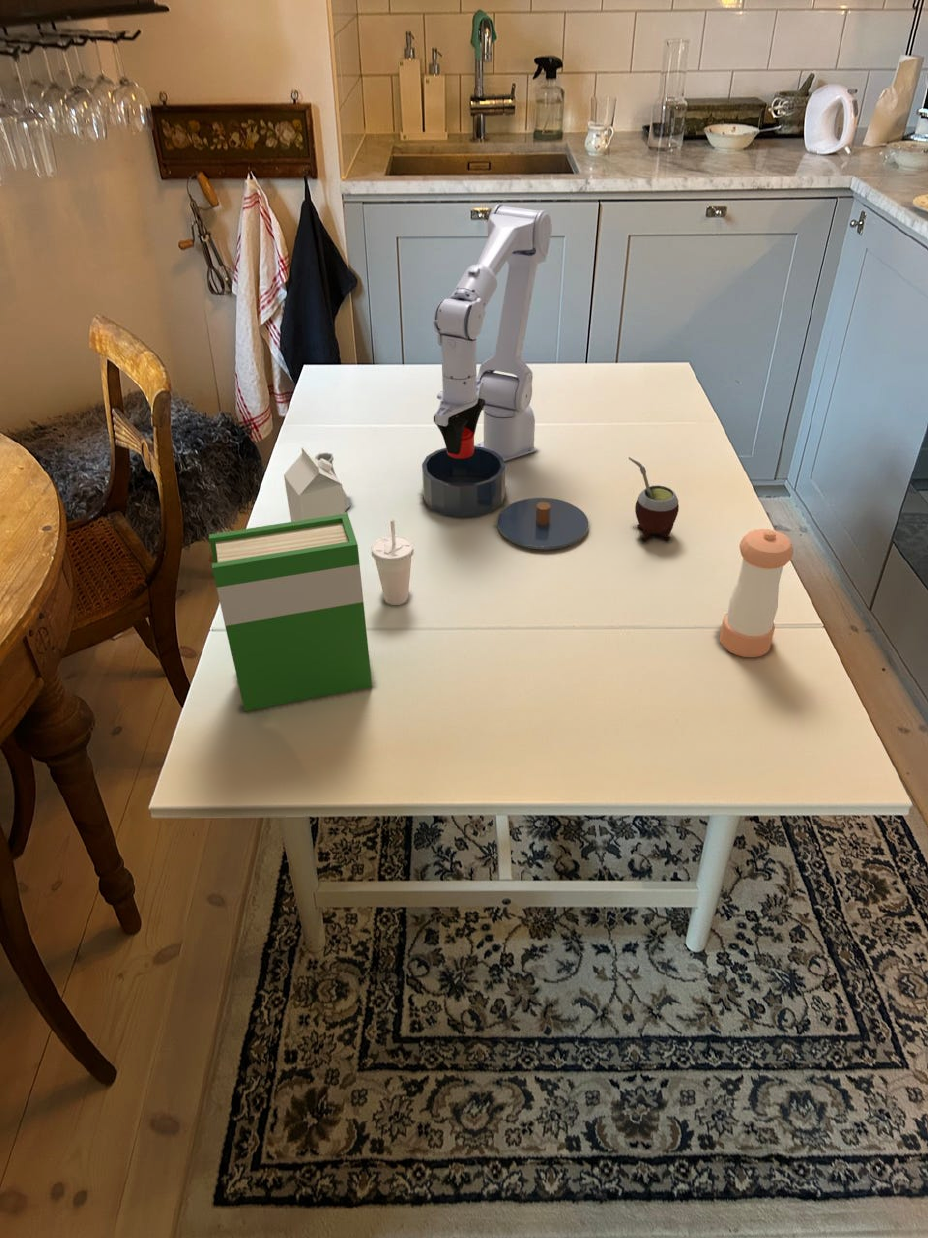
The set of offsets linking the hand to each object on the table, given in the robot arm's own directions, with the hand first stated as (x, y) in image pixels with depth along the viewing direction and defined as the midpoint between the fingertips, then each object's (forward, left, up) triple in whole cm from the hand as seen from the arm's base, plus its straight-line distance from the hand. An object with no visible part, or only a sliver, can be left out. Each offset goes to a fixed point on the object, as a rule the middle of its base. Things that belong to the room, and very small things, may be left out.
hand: (460, 445), depth 164 cm
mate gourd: (-20, +28, -10) cm, 36 cm away
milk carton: (+30, +4, -10) cm, 32 cm away
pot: (0, 0, -10) cm, 10 cm away
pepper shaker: (-13, +57, -10) cm, 60 cm away
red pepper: (0, 0, -1) cm, 1 cm away
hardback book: (+45, +30, -10) cm, 55 cm away
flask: (+22, -10, -10) cm, 26 cm away
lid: (-6, +16, -9) cm, 20 cm away
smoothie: (+25, +20, -10) cm, 34 cm away
